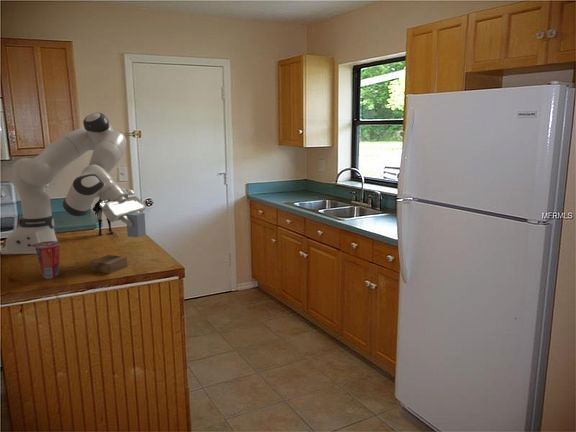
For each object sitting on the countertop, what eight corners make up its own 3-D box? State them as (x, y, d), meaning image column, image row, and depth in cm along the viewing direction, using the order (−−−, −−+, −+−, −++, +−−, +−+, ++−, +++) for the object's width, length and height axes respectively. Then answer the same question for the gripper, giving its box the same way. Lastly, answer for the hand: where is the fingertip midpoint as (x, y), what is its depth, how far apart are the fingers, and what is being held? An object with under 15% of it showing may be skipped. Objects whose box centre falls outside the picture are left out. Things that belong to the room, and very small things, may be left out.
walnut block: (91, 271, 178) (90, 261, 177) (109, 264, 186) (108, 254, 185) (110, 274, 174) (109, 264, 173) (127, 267, 182) (126, 257, 182)
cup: (58, 270, 178) (54, 239, 175) (67, 275, 172) (64, 243, 170) (31, 276, 171) (27, 244, 169) (40, 282, 166) (36, 249, 163)
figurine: (90, 237, 227) (84, 174, 221) (89, 234, 233) (83, 173, 227) (122, 233, 234) (117, 172, 228) (120, 230, 239) (115, 171, 233)
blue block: (127, 236, 190) (126, 214, 188) (135, 233, 194) (133, 212, 193) (138, 237, 188) (136, 215, 186) (145, 234, 193) (144, 212, 191)
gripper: (101, 197, 180) (125, 224, 179) (134, 189, 199) (156, 213, 198) (92, 207, 183) (116, 234, 182) (126, 199, 202) (147, 223, 201)
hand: (137, 223), depth 190 cm, fingers closed on blue block, 5 cm apart
